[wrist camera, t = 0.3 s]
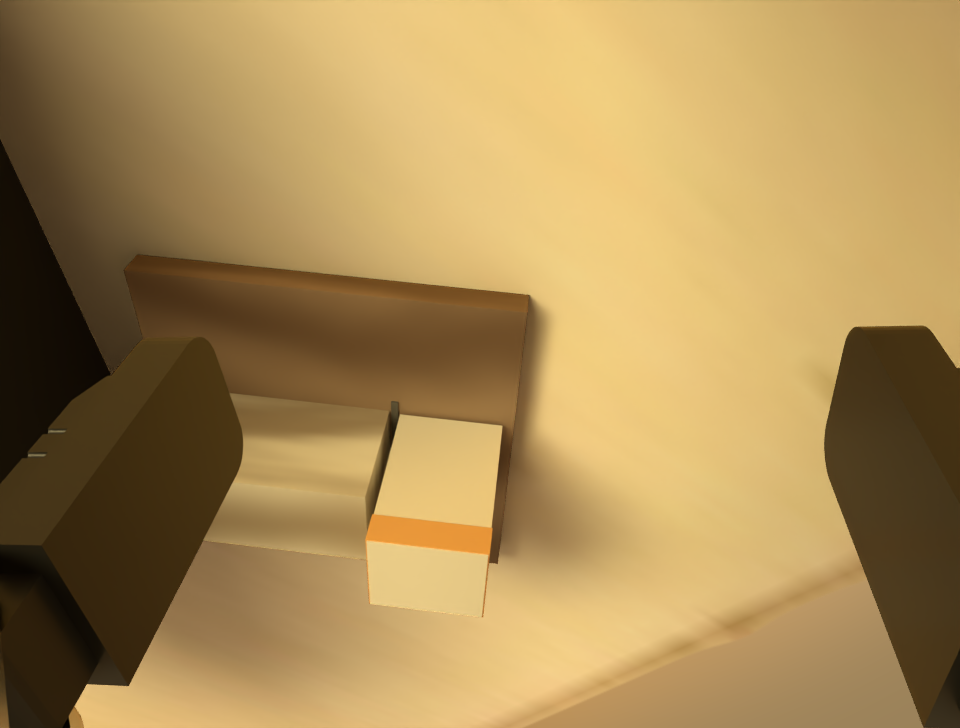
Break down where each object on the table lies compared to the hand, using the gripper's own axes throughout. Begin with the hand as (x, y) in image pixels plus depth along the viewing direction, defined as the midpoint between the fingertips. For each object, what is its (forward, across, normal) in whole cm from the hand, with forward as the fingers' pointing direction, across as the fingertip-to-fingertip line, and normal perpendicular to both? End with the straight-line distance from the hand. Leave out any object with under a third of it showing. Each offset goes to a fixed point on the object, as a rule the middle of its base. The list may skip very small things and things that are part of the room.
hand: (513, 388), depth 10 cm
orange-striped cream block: (+18, +5, +17) cm, 25 cm away
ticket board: (+19, +10, +16) cm, 27 cm away
